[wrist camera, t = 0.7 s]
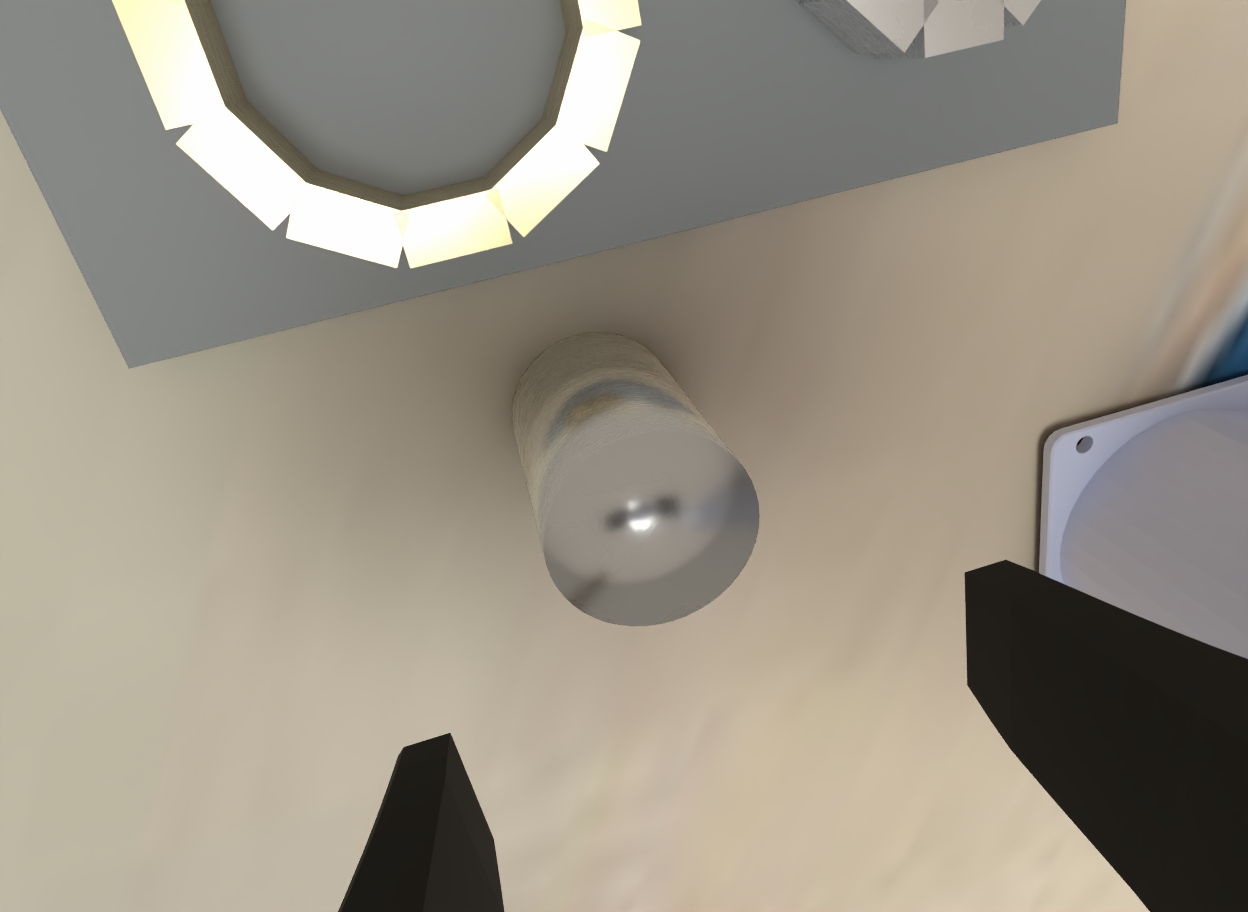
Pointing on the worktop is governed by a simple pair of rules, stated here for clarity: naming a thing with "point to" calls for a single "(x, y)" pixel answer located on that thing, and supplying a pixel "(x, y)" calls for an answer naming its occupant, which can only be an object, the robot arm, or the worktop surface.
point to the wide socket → (360, 213)
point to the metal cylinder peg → (629, 483)
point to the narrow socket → (917, 24)
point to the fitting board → (496, 136)
